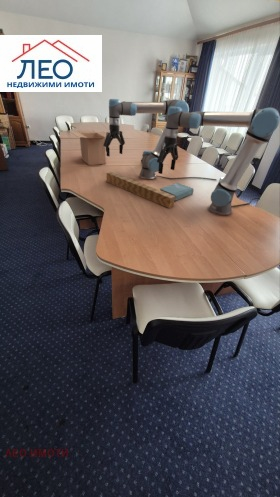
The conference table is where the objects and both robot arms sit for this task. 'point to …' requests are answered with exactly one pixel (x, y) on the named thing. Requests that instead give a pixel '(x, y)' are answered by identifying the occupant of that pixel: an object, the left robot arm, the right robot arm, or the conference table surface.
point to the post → (141, 189)
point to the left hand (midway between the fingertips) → (114, 154)
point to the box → (92, 146)
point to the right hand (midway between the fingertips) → (166, 171)
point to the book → (177, 190)
